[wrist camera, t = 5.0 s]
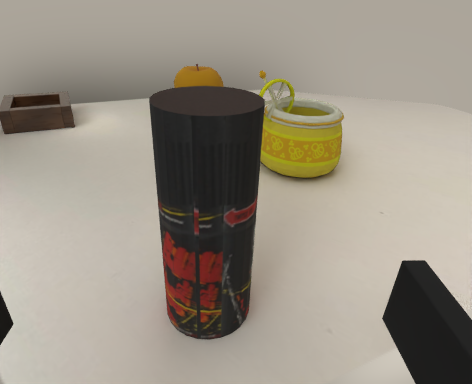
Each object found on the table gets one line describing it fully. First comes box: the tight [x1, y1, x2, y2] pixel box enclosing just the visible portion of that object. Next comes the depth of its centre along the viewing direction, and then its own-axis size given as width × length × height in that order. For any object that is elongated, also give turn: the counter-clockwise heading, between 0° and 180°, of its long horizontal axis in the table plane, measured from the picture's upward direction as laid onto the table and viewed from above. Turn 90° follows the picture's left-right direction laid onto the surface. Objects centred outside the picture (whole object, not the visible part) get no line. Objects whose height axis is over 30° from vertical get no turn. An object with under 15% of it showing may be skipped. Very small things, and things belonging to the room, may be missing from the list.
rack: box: [0, 92, 75, 134], centre depth 58 cm, size 10×10×4 cm
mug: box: [259, 71, 344, 178], centre depth 44 cm, size 13×11×12 cm
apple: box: [174, 64, 223, 88], centre depth 64 cm, size 9×9×9 cm
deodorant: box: [149, 86, 265, 339], centre depth 22 cm, size 6×6×15 cm
